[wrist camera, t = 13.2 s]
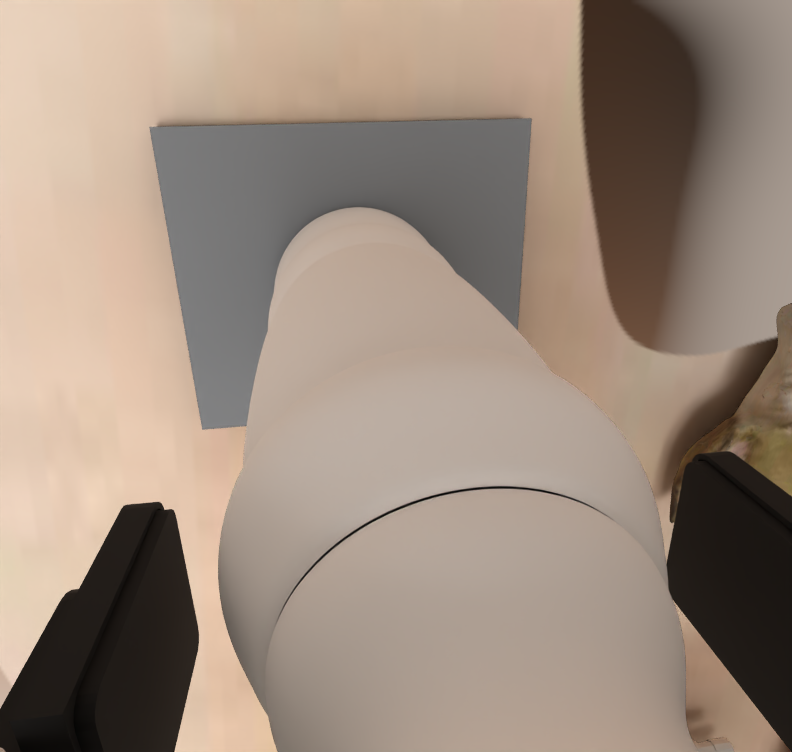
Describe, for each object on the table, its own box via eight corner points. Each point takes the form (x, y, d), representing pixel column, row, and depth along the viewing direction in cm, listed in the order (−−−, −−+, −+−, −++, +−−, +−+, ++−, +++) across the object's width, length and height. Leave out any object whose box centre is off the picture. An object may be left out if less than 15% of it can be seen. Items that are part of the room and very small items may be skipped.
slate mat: (521, 118, 25) (531, 118, 24) (505, 393, 30) (512, 403, 29) (156, 126, 23) (149, 127, 22) (206, 417, 28) (202, 429, 27)
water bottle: (303, 179, 23) (140, 1851, 1) (460, 237, 25) (1837, 1239, 3) (256, 337, 26) (-131, 1926, 3) (404, 380, 28) (857, 1575, 5)
